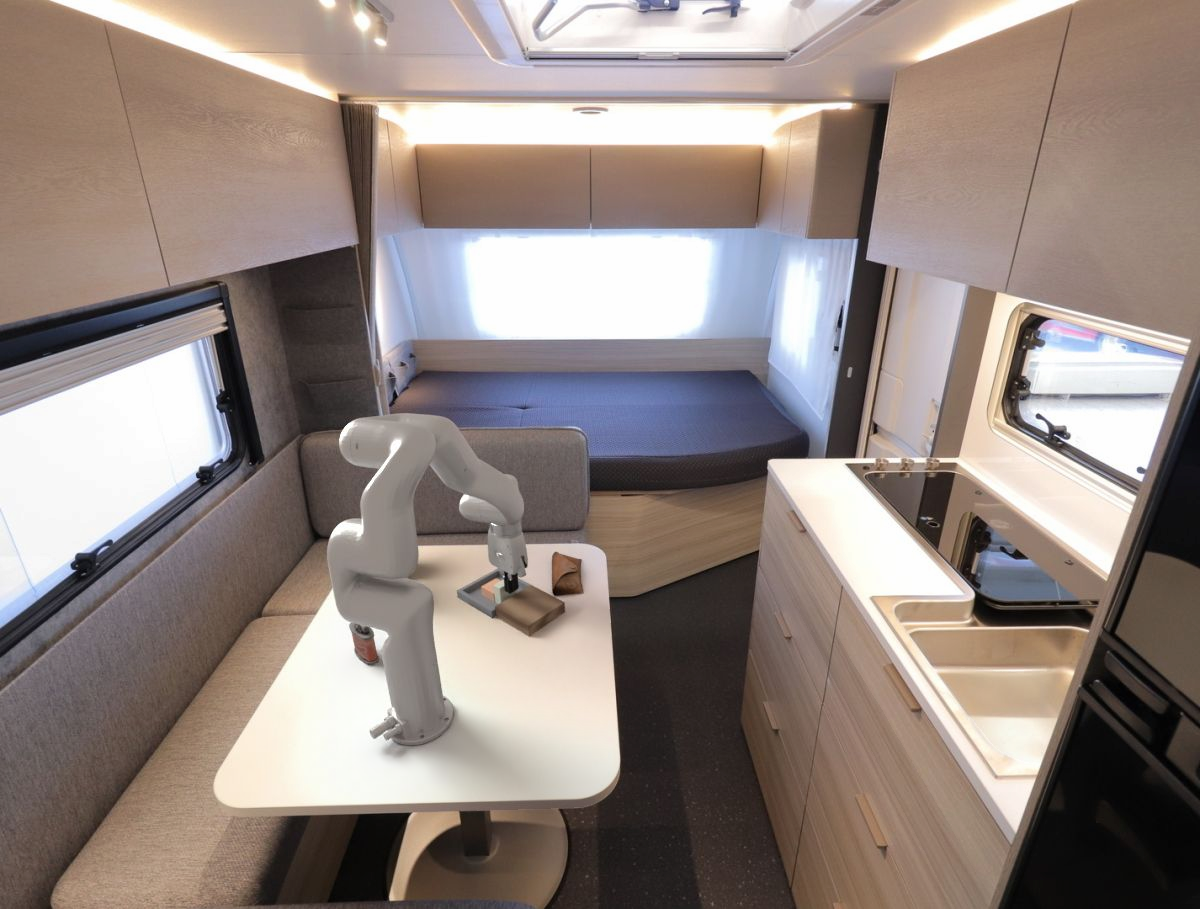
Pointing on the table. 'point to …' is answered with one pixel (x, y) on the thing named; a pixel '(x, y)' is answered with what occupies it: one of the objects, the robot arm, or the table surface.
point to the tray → (477, 600)
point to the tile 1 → (489, 589)
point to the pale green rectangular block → (501, 592)
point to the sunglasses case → (566, 575)
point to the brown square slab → (530, 610)
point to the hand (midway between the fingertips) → (511, 590)
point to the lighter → (364, 644)
